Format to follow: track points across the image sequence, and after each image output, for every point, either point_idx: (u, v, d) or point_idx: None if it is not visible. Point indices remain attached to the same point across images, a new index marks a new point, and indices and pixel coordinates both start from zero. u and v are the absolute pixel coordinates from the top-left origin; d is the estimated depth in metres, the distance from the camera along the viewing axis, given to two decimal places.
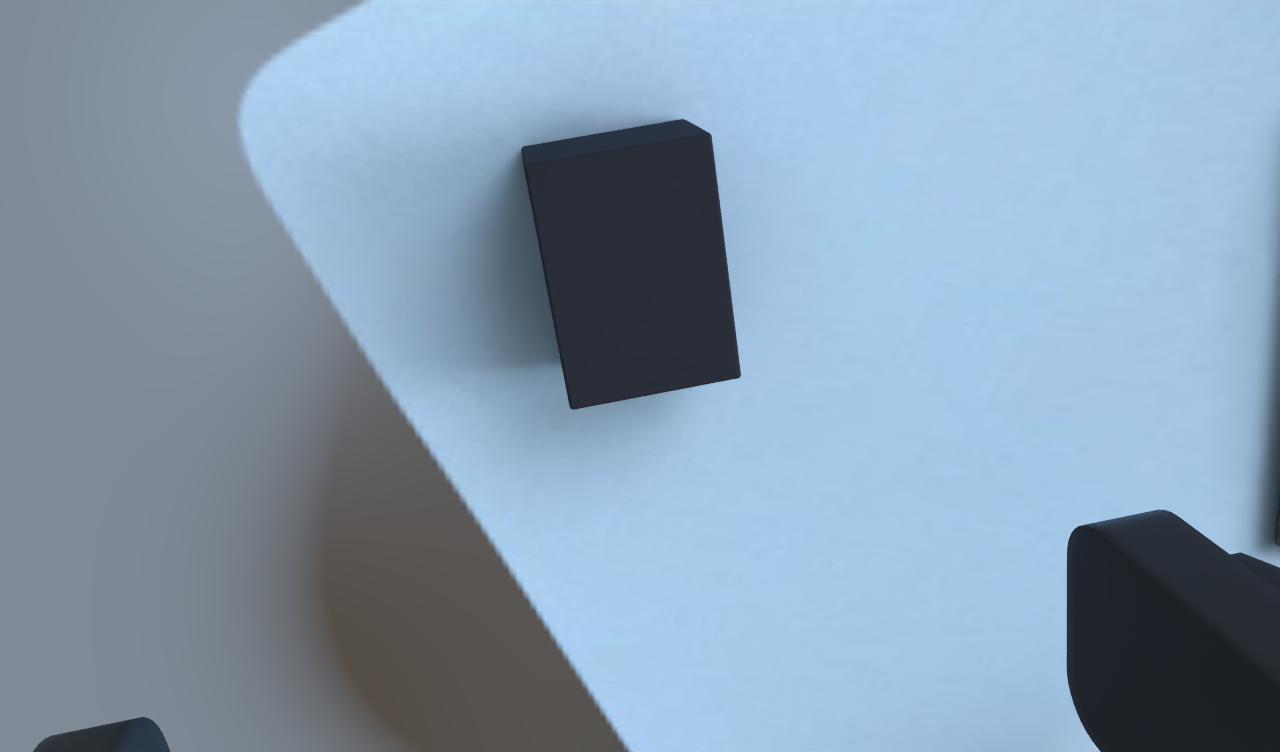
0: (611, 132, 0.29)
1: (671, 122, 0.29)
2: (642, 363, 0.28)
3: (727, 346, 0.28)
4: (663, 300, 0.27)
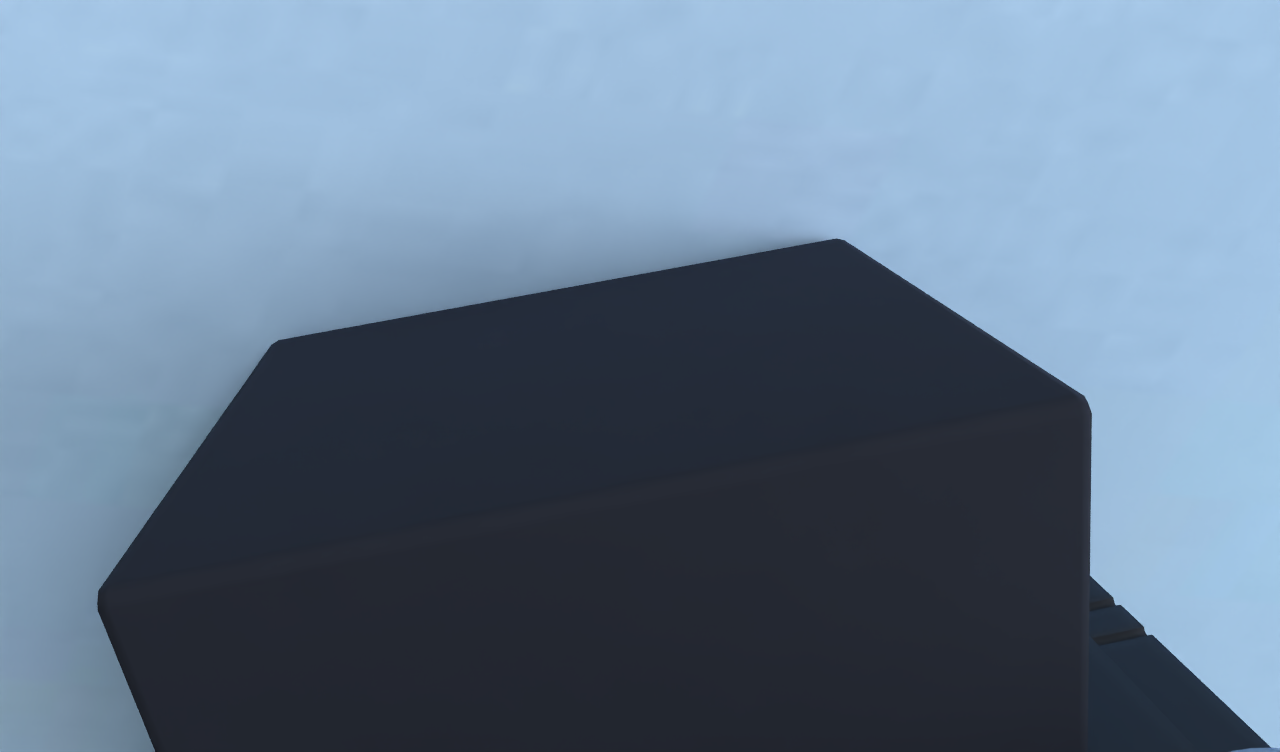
0: (589, 292, 0.08)
1: (802, 255, 0.08)
2: None
3: None
4: None
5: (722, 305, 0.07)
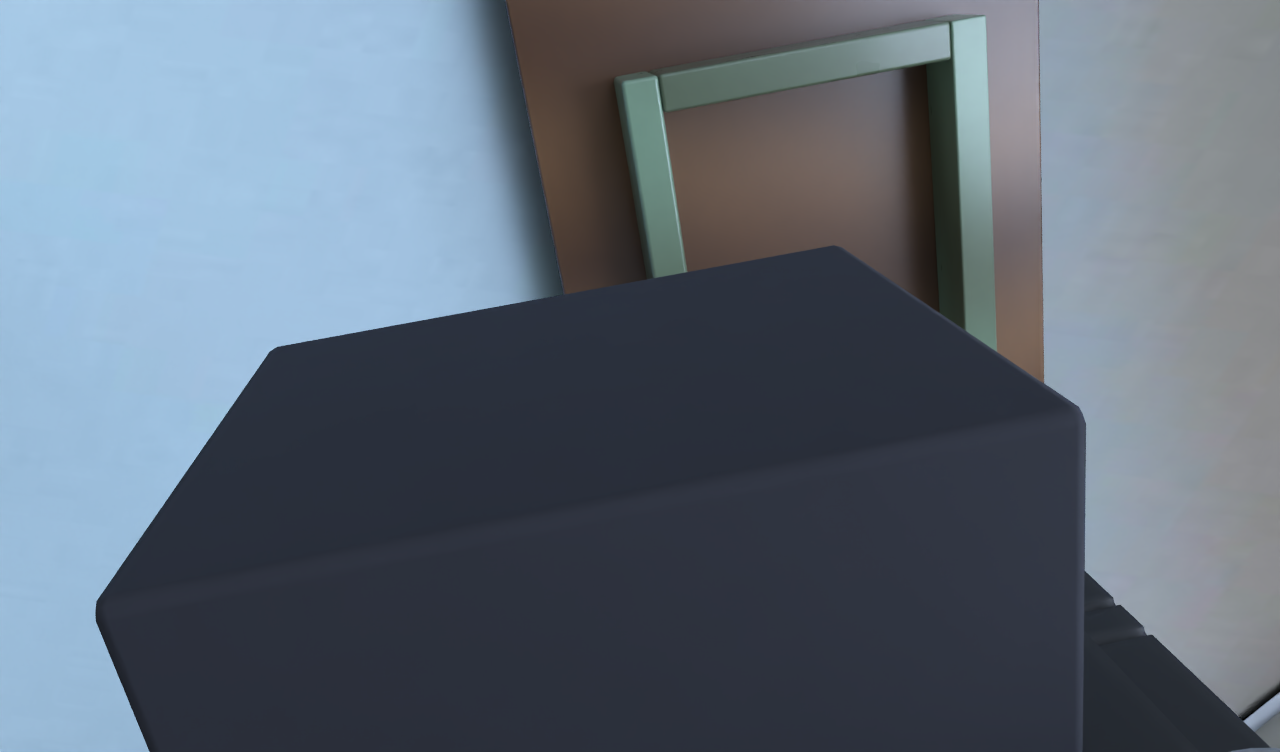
0: (587, 299, 0.08)
1: (799, 261, 0.08)
2: None
3: None
4: None
5: (719, 313, 0.07)
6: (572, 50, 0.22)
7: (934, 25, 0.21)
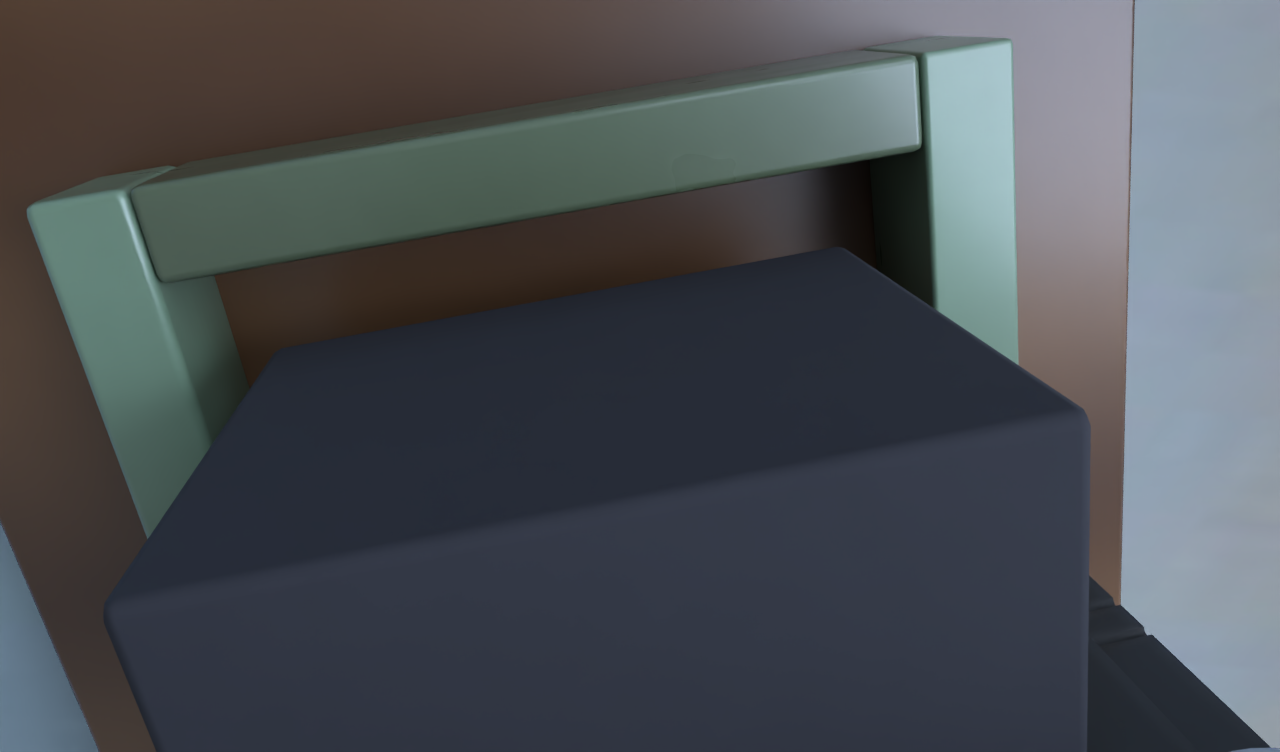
0: (590, 300, 0.08)
1: (802, 263, 0.08)
2: None
3: None
4: None
5: (723, 314, 0.07)
6: None
7: (877, 64, 0.08)
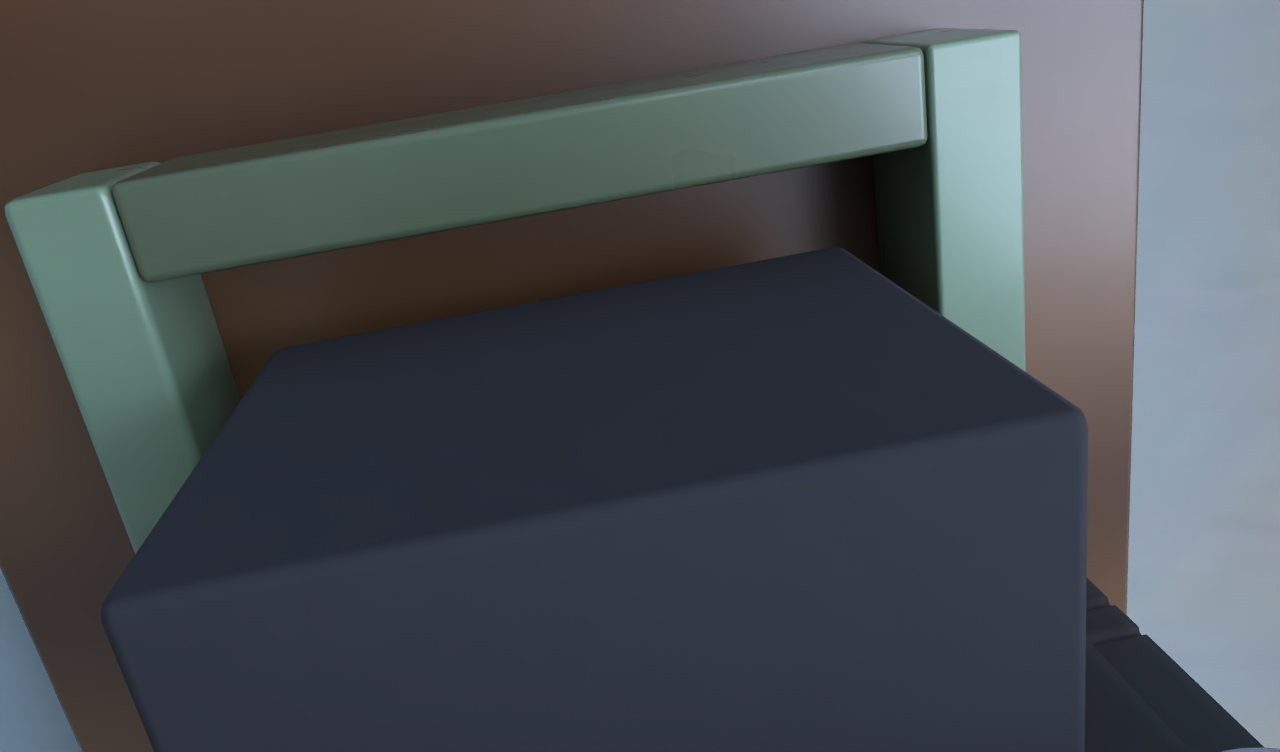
0: (589, 300, 0.08)
1: (801, 263, 0.08)
2: None
3: None
4: None
5: (722, 314, 0.07)
6: None
7: (882, 56, 0.08)
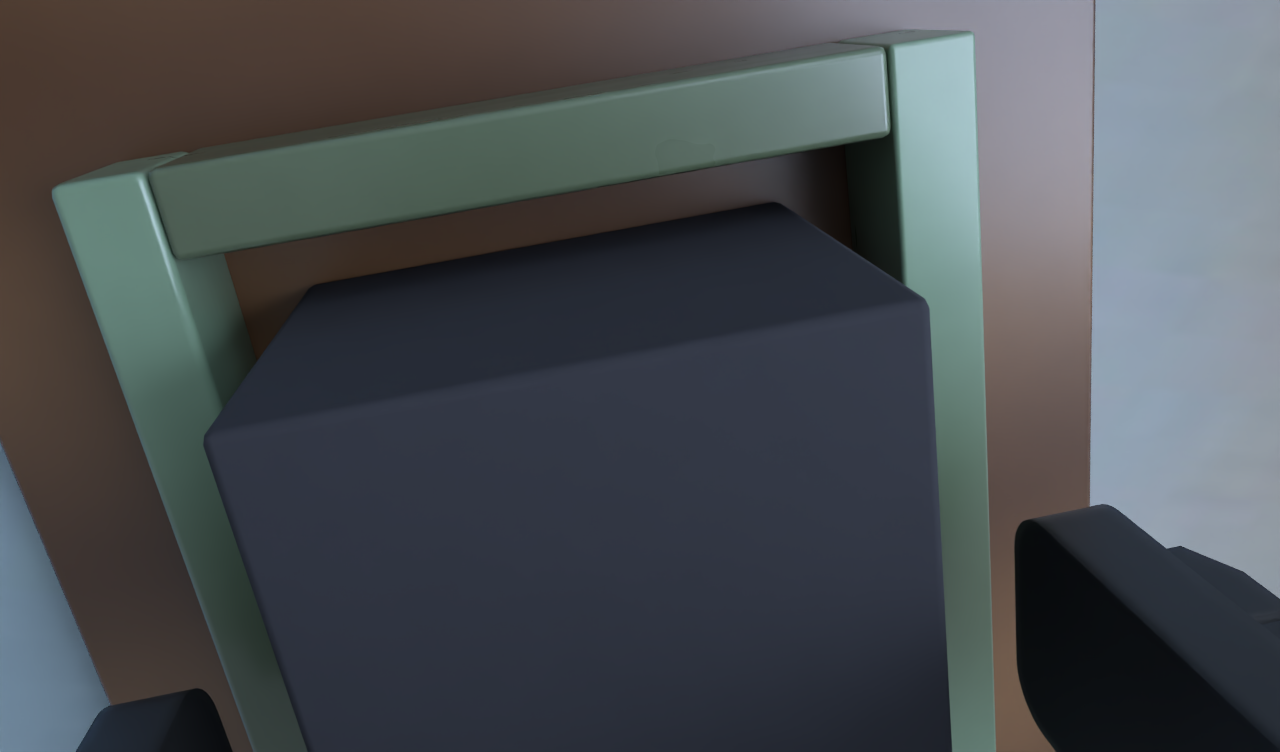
0: (569, 244, 0.10)
1: (744, 213, 0.10)
2: None
3: None
4: None
5: (674, 250, 0.09)
6: (0, 102, 0.09)
7: (848, 55, 0.09)
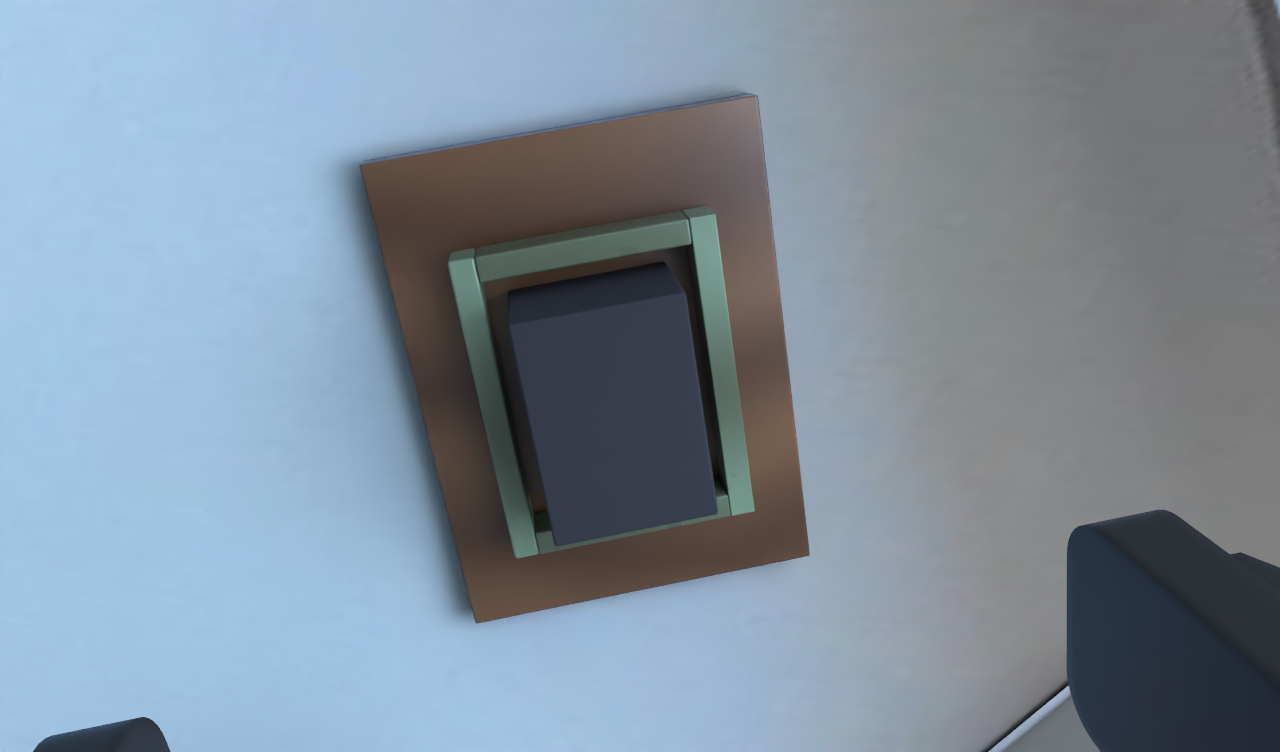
0: (594, 276, 0.31)
1: (651, 266, 0.31)
2: (623, 502, 0.29)
3: (704, 485, 0.29)
4: (642, 445, 0.29)
5: (626, 278, 0.30)
6: (419, 234, 0.30)
7: (677, 221, 0.29)
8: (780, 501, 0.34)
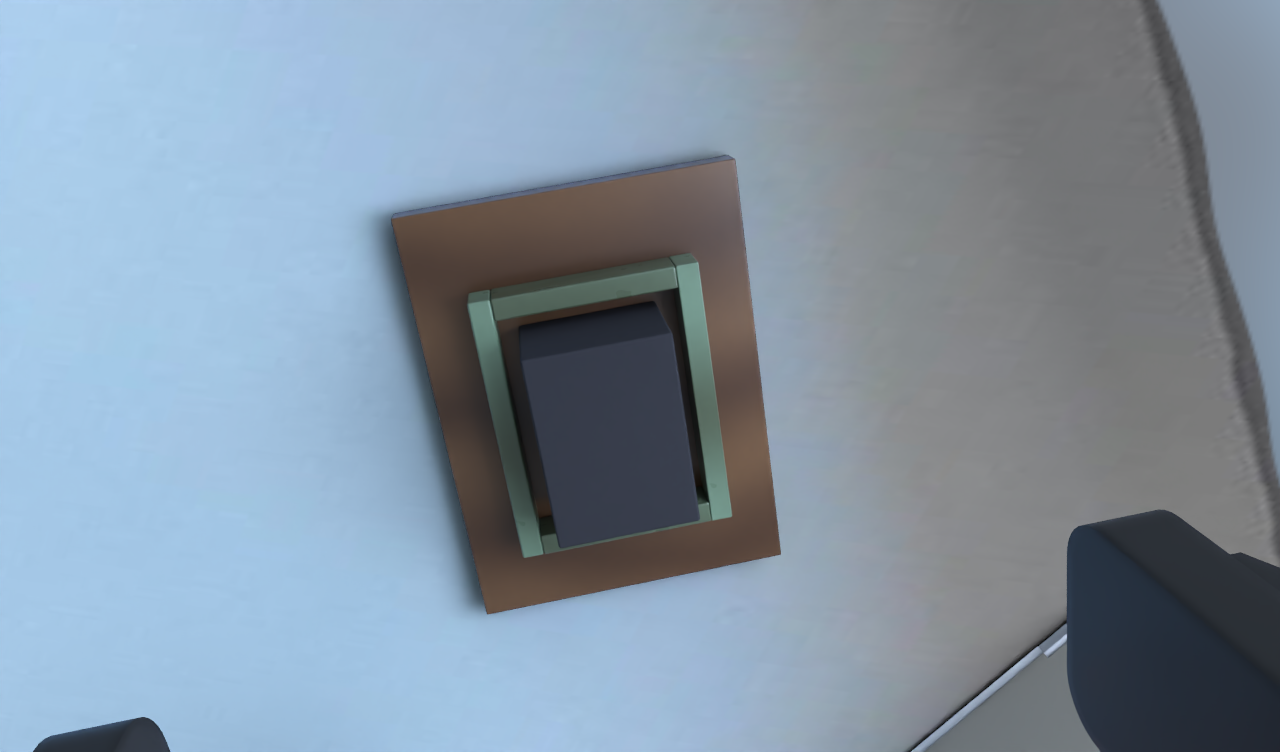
0: (593, 314, 0.35)
1: (643, 305, 0.35)
2: (618, 511, 0.34)
3: (688, 496, 0.34)
4: (635, 461, 0.33)
5: (621, 317, 0.34)
6: (441, 277, 0.35)
7: (665, 268, 0.34)
8: (755, 507, 0.39)
